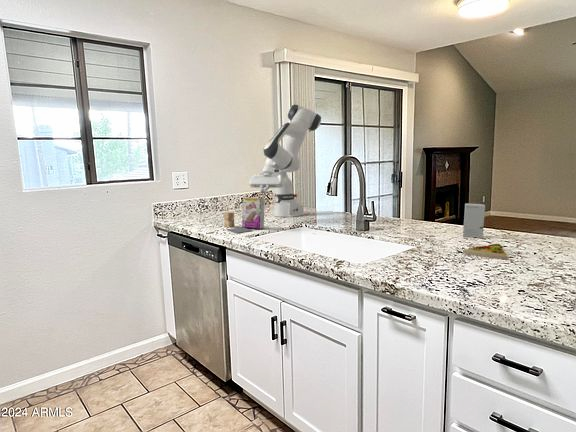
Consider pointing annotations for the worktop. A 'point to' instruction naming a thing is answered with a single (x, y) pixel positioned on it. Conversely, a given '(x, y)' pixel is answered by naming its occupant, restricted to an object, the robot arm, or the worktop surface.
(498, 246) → the pizza slice
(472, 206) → the skincare box
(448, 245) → the worktop surface
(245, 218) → the candy bar box
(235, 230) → the rubber mat
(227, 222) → the oak block
